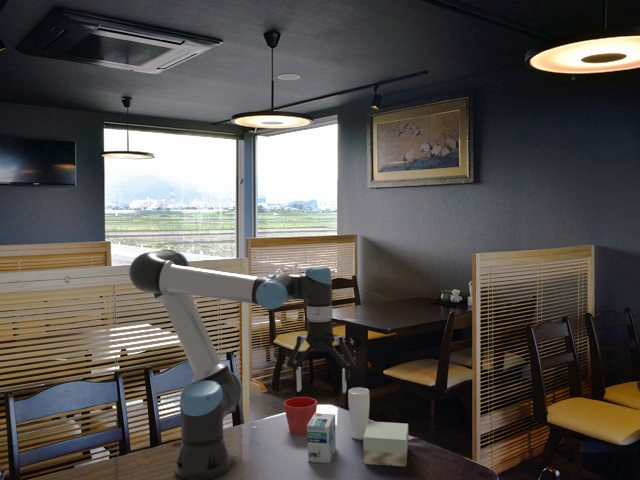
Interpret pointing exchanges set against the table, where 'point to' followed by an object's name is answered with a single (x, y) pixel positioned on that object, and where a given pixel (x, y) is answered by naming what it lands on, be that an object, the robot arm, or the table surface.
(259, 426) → the table surface
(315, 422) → the light bulb box
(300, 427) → the flower pot
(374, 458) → the birch slab
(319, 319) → the robot arm
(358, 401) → the drinking glass
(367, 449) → the sage slab
